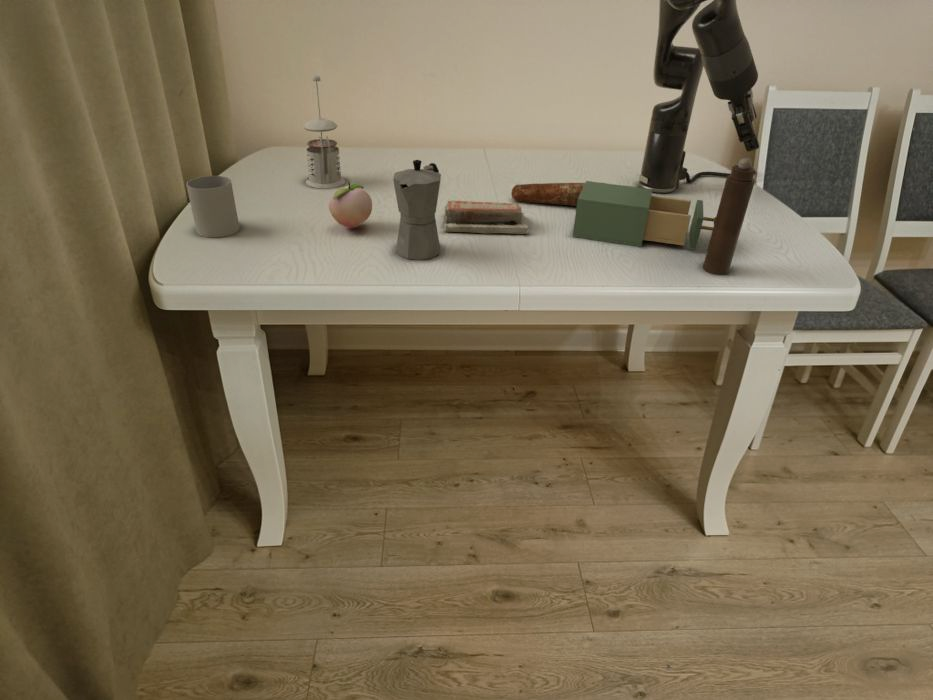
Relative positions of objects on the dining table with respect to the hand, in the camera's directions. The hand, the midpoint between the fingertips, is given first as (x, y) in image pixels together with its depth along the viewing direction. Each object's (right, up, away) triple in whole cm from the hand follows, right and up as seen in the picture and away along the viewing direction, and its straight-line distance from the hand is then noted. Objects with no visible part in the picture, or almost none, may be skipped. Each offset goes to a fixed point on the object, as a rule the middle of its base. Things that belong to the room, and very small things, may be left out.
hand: (752, 133), depth 118 cm
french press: (-90, +1, +39) cm, 98 cm away
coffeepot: (-63, -21, +7) cm, 67 cm away
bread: (-34, -6, +31) cm, 47 cm away
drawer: (-10, -17, +15) cm, 24 cm away
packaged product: (-50, -14, +19) cm, 55 cm away
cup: (-106, -16, +12) cm, 108 cm away
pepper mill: (-6, -25, +3) cm, 26 cm away
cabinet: (-23, -15, +18) cm, 33 cm away
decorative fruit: (-78, -15, +15) cm, 81 cm away
